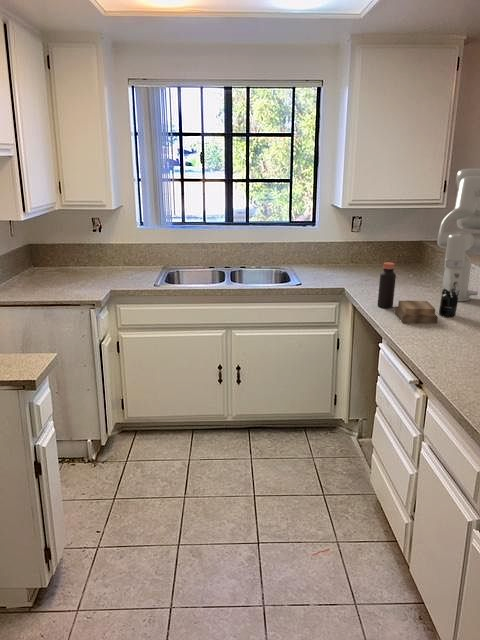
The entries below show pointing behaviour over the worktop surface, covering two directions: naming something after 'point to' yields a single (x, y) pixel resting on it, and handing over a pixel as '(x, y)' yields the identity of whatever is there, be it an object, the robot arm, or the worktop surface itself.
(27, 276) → the worktop surface
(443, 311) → the supplement bottle
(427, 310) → the stepped wooden plinth
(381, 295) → the vinegar
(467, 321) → the worktop surface
